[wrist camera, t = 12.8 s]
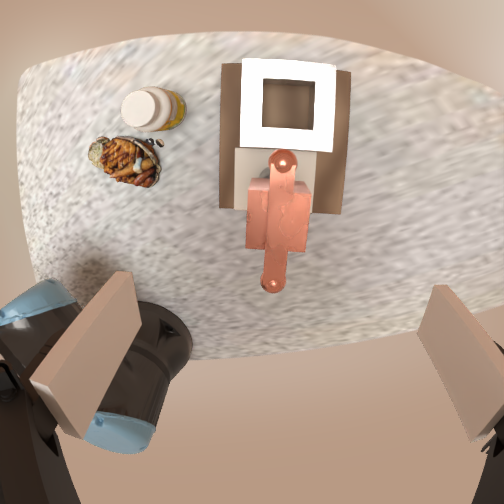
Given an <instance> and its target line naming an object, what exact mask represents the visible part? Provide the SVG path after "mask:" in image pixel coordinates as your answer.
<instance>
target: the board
mask: <svg viewBox="0 0 504 504" xmlns="http://www.w3.org/2000/svg"><path fill="white" fill-rule="evenodd" d="M309 89H310V87H306V86H294V85H279V84H264V88H263V118H262V127H271V128H289V129H303V130H308V114H309ZM350 91H351V72H347V71H340V70H336V91H335V115H334V132H333V147H332V152H324V151H313V152H317V156H316V170H315V182H314V194H313V206H312V213H327V214H341V206H342V198H343V188H344V179H345V168H346V157H347V145H348V131H349V114H350ZM241 93H242V63H227V64H222V71H221V103H220V161H219V208H232V209H234V178H235V148H265V147H240V128H241ZM266 149H281V148H266ZM288 150H300V149H288ZM300 151H312V150H300Z"/></svg>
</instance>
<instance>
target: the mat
mask: <svg viewBox="0 0 504 504" xmlns="http://www.w3.org/2000/svg"><path fill="white" fill-rule="evenodd" d="M275 150H277V149H266V148H235V178H234V210H247V203H248V188H249V185H250V182H251V179H252V178H259V175H260V173H261V172H262V171H263V170H264V169H265V168H267V167H269V166H268V159H269V157H270V155H271V154H272V152H274V151H275ZM290 151H292V152H293V153H294V154H295V156H296V158H297V161H298V165H297V169H296V171H295V180H294V181H304V182H305V184H306V185H307V187H308V189H309V190H310V192H311V194H312V197H311V206H310V214H312V206H313V194H314V182H315V170H316V156H317V152H313V151H300V150H290Z"/></svg>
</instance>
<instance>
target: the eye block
mask: <svg viewBox="0 0 504 504" xmlns="http://www.w3.org/2000/svg"><path fill="white" fill-rule="evenodd" d="M264 84H279V85H294V86H306V87H310V89H309V114H308V130H303V129H289V128H271V127H262V118H263V88H264ZM335 91H336V65H330V64H322V63H313V62H303V61H290V60H274V59H243V63H242V93H241V128H240V147H265V148H284V149H300V150H312V151H324V152H332V147H333V132H334V115H335Z"/></svg>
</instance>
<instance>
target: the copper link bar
mask: <svg viewBox="0 0 504 504" xmlns="http://www.w3.org/2000/svg"><path fill="white" fill-rule="evenodd" d="M297 165H298V161H297V158H296V156H295V154H294V153H293V152H292V151H290V150H288V149H284V148H281V149H277V150H275V151H274V152H272V154H271V155H270V157H269V159H268V166H269V167H267V168H265V169H264V170H263V171H262V172H261V173H260V175H259V178H252V179H251V182H250V185H249V188H248V203H247V225H246V248H247V249H263V250H265V257H264V270H263V273H262V275H261V279H260V282H261V286H262V288H263V289H264V290H265V291H267V292H269V293H278V292H280V291H281V290H282V289H283V288H284V287H285V284H286V276H285V272H286V263H287V254H288V251H293V252H305V249H306V241H307V233H308V224H309V215H310V206H311V197H312V194H311V192H310V190H309V189H308V187H307V185H306V184H305V182H304V181H294V180H295V171H296V169H297Z"/></svg>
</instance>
